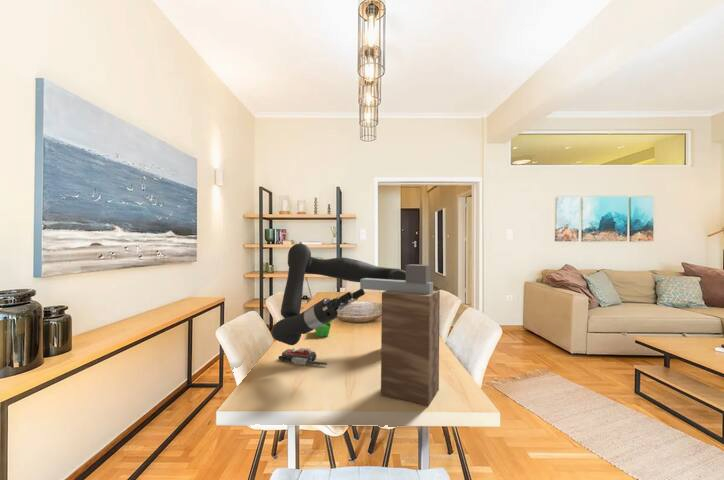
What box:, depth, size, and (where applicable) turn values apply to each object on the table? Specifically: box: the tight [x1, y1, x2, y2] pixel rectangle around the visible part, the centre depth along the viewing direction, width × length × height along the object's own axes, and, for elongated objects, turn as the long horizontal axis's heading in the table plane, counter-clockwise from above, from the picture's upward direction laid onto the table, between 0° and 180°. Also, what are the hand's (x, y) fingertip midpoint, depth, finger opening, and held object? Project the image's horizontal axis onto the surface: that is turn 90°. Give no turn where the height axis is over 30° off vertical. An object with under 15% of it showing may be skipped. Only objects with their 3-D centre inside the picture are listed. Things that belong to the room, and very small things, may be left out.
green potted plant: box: [314, 320, 333, 338], centre depth 164 cm, size 11×9×11 cm
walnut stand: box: [380, 289, 441, 407], centre depth 102 cm, size 12×14×30 cm
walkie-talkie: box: [278, 347, 328, 366], centre depth 128 cm, size 9×4×20 cm
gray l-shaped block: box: [359, 263, 434, 294], centre depth 104 cm, size 5×22×8 cm, turn 64°
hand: (357, 292), depth 110 cm, fingers open, 8 cm apart
